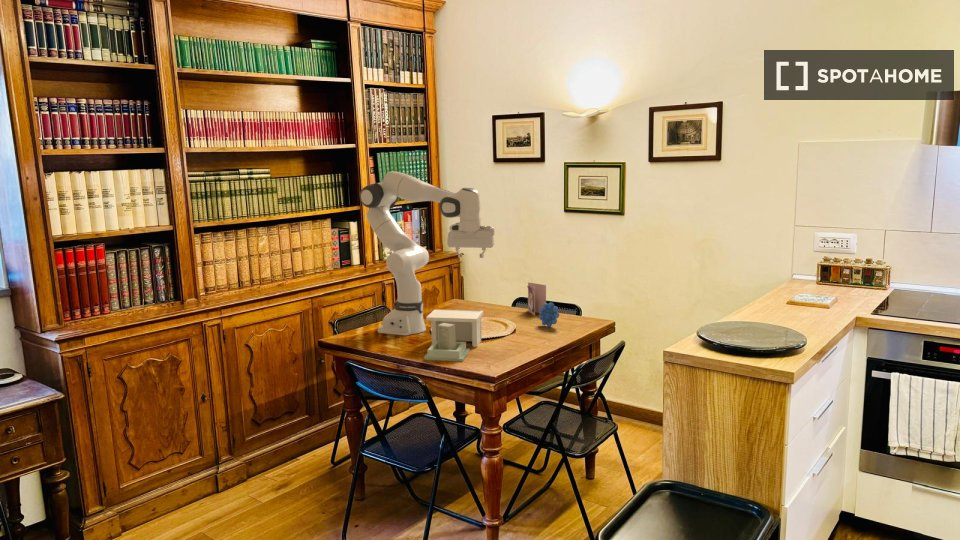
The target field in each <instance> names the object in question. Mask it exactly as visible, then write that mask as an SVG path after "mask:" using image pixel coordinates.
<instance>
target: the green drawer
mask: <svg viewBox="0 0 960 540" xmlns="http://www.w3.org/2000/svg"><path fill="white" fill-rule="evenodd" d="M469 353H470V348H467V341H456V350H443V349H439V341H435V342H434V343H433V344H432V343H431V345H430V346H429V348H428V349H427V352H426V354H425V355H424V357H423V360H426V361H445V362H446V361H447V362H464V361H465V359H466V357H467V355H468V354H469Z"/></svg>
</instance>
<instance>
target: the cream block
mask: <svg viewBox="0 0 960 540" xmlns="http://www.w3.org/2000/svg"><path fill="white" fill-rule="evenodd" d="M483 316H484V310H464V309H463V310H462V309H435V308H434V309H433V310H432V311H431V312H430V313H429V314H428V315H427V316H426V318H425V319H426V322H430V324H431V325H430V326H431V329H430V331H431V345H432V344H433V343H434V342H435V341H439V340H438V325H439V324H442V323H449V324H455V335H456V342H472V348H478V346H479V345H480V343H481V342H482V317H483Z"/></svg>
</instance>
